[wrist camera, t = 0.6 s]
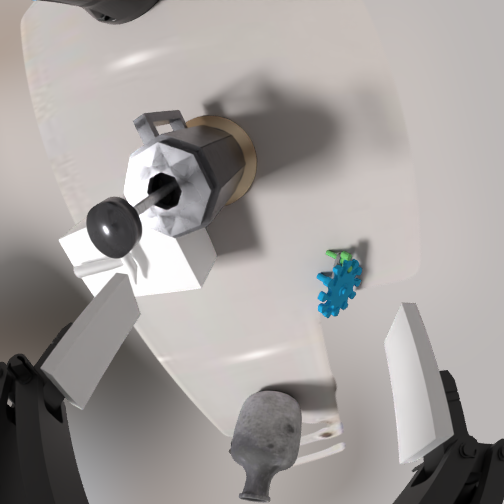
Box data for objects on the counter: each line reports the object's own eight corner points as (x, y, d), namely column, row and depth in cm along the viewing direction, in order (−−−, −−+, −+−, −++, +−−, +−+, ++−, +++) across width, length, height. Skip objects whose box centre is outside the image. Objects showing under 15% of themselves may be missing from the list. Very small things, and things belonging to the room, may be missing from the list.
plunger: (141, 165, 30) (58, 207, 18) (194, 134, 27) (116, 161, 15) (170, 220, 33) (105, 285, 21) (224, 197, 30) (171, 262, 18)
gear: (355, 309, 45) (318, 328, 39) (331, 294, 49) (291, 309, 44) (372, 250, 41) (334, 261, 35) (344, 237, 45) (303, 245, 39)
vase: (301, 412, 68) (288, 507, 42) (245, 406, 71) (222, 498, 45) (307, 384, 60) (294, 499, 35) (242, 377, 63) (212, 488, 37)
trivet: (153, 142, 38) (151, 142, 38) (231, 99, 34) (230, 99, 33) (192, 218, 44) (190, 219, 43) (272, 187, 39) (271, 188, 38)
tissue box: (217, 255, 47) (196, 298, 38) (117, 274, 55) (91, 308, 46) (183, 177, 40) (148, 207, 31) (85, 217, 48) (50, 246, 39)
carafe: (154, 129, 37) (94, 145, 25) (215, 94, 33) (169, 90, 21) (194, 207, 42) (151, 251, 30) (257, 182, 38) (233, 220, 26)
